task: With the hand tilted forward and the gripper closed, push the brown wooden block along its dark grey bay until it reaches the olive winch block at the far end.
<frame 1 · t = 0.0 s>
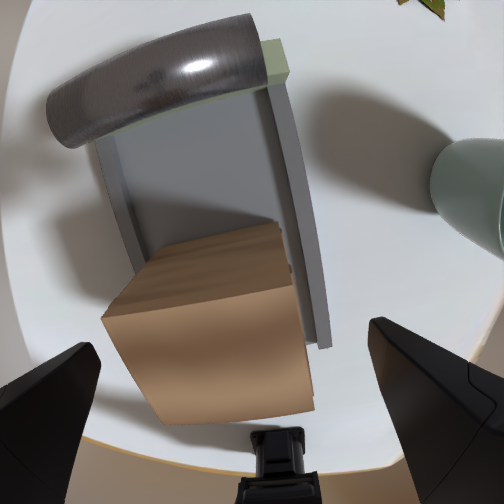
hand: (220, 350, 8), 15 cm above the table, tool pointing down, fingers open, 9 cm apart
brown wooden block: (223, 319, 18), point 6 cm above the table, slide at 0.0 cm
cup: (450, 180, 21), on the table
bay: (218, 230, 22), on the table
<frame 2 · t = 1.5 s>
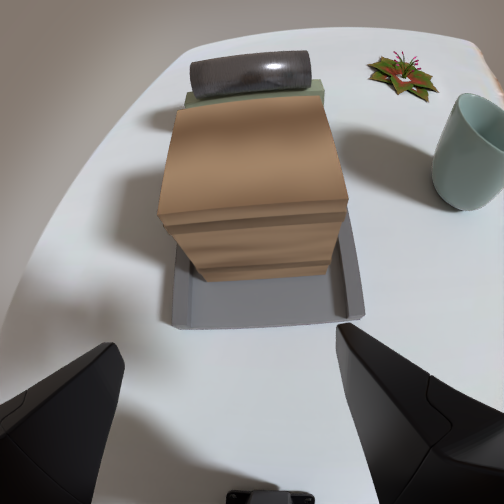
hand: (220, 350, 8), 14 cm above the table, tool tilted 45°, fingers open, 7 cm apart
lily flower: (402, 81, 34), on the table
brown wooden block: (257, 196, 19), point 6 cm above the table, slide at 0.0 cm
cup: (453, 191, 25), on the table
bay: (262, 198, 27), on the table
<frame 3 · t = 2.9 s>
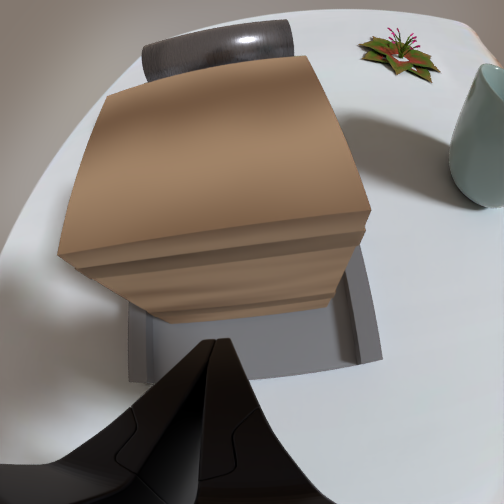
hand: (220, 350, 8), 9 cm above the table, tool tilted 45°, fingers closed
lily flower: (399, 61, 29), on the table
brown wooden block: (224, 207, 13), point 6 cm above the table, slide at 0.0 cm
cup: (473, 184, 20), on the table
bay: (239, 207, 21), on the table
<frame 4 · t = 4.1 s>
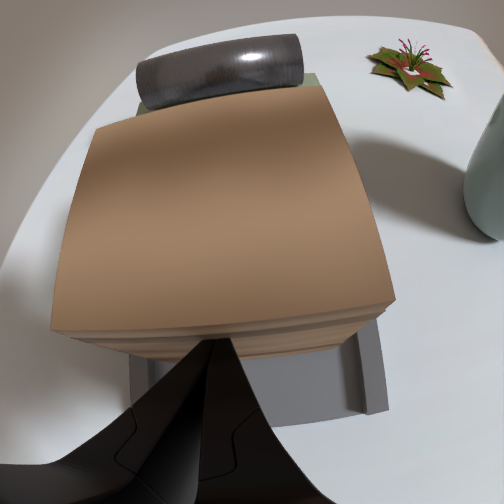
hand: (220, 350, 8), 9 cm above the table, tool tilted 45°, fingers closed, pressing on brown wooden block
lily flower: (409, 74, 28), on the table
brown wooden block: (228, 254, 13), point 6 cm above the table, slide at 0.5 cm, touching gripper
cup: (486, 213, 18), on the table
bay: (243, 244, 20), on the table
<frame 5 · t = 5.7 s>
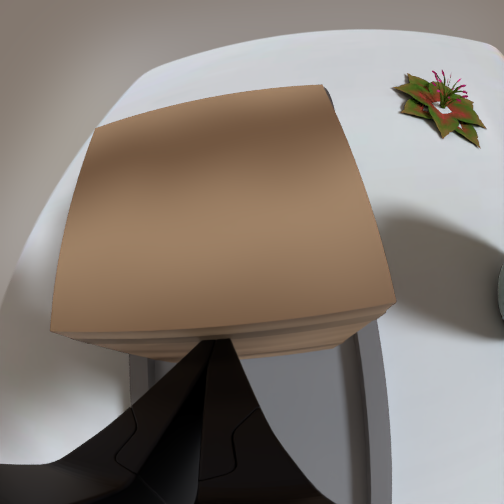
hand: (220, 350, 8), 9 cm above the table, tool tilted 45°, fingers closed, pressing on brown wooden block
lily flower: (440, 111, 24), on the table
brown wooden block: (228, 254, 13), point 6 cm above the table, slide at 8.2 cm, touching gripper
bay: (253, 362, 16), on the table
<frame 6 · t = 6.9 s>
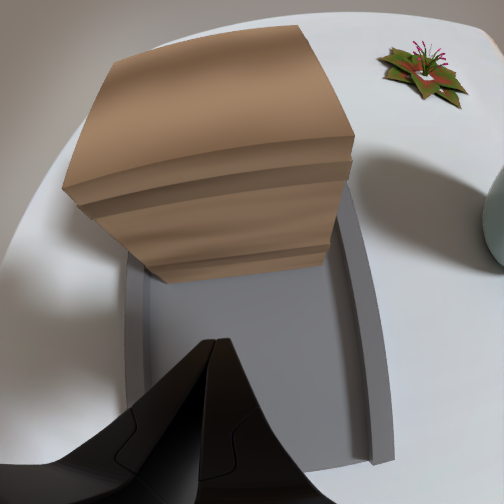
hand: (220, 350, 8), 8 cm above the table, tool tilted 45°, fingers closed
lily flower: (423, 79, 25), on the table
brown wooden block: (222, 162, 14), point 6 cm above the table, slide at 8.0 cm
cup: (503, 240, 17), on the table
bay: (245, 281, 18), on the table
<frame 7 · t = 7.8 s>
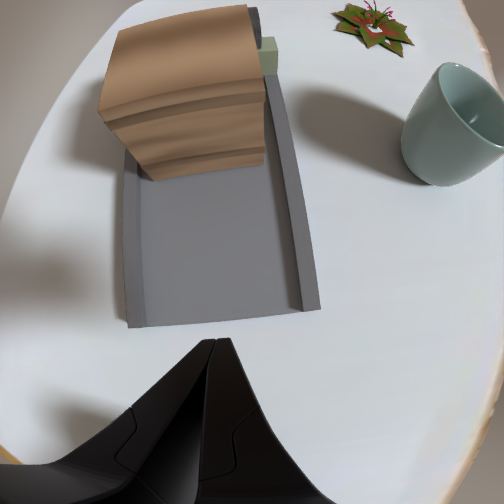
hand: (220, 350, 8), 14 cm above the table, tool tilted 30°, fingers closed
lily flower: (372, 31, 28), on the table
brown wooden block: (193, 95, 19), point 6 cm above the table, slide at 8.0 cm
cup: (424, 160, 24), on the table
bay: (209, 177, 24), on the table
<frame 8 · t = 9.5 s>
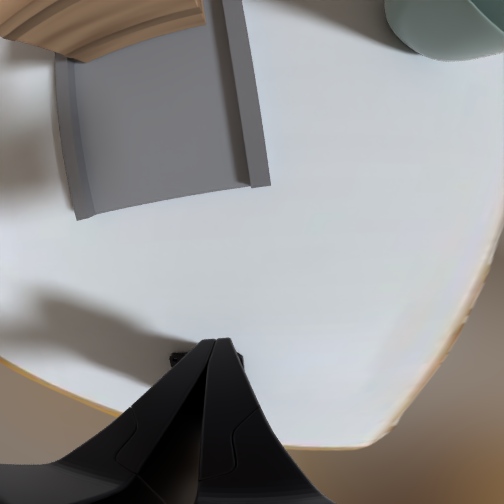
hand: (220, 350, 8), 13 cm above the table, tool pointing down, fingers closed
cup: (415, 26, 15), on the table
bay: (147, 46, 16), on the table
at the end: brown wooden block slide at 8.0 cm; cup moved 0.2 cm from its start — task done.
